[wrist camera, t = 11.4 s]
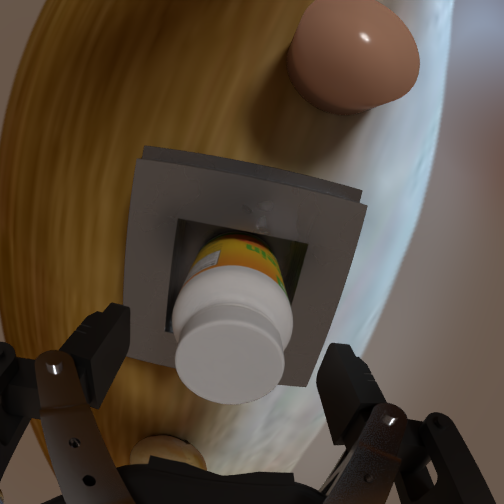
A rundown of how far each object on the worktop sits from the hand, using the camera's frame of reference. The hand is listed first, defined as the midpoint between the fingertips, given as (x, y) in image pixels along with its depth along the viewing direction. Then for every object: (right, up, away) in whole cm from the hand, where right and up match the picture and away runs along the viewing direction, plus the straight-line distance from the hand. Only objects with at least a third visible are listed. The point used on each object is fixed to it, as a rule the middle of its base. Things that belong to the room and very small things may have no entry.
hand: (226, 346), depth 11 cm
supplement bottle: (0, +3, +8) cm, 9 cm away
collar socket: (0, +3, +9) cm, 10 cm away
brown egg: (+7, +16, +5) cm, 18 cm away
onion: (-8, -17, +15) cm, 24 cm away
